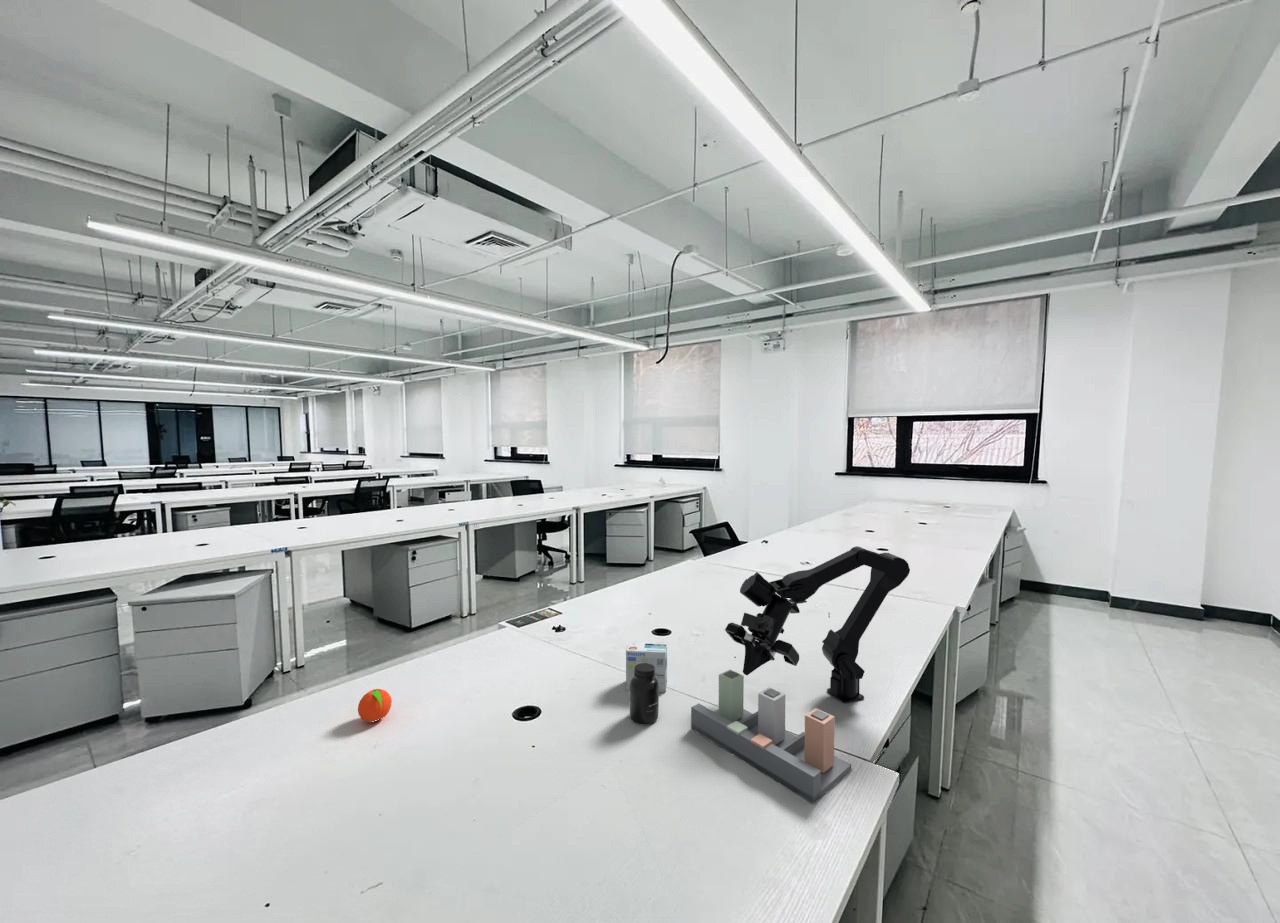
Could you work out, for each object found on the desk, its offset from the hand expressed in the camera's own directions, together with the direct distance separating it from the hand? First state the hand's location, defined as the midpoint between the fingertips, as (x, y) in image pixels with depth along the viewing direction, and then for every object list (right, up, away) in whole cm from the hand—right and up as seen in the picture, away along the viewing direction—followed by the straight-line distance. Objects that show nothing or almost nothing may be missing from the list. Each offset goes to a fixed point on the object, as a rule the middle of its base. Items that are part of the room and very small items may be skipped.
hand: (744, 674), depth 115 cm
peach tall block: (+10, -9, -20) cm, 24 cm away
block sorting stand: (+2, -10, -13) cm, 16 cm away
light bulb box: (-23, -9, +14) cm, 28 cm away
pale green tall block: (-4, -8, -3) cm, 10 cm away
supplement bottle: (-24, -10, -2) cm, 26 cm away
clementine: (-86, -10, -3) cm, 87 cm away
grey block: (+3, -8, -12) cm, 15 cm away
